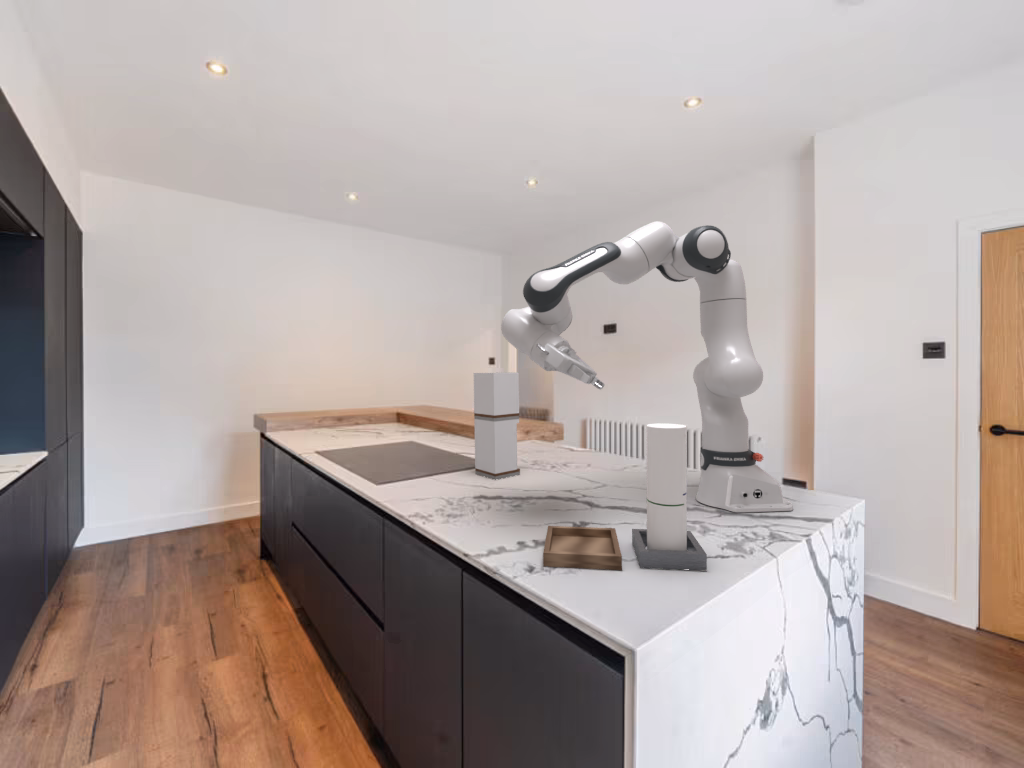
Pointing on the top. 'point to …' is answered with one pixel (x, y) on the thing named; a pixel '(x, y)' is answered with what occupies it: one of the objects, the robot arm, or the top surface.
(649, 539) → the cylindrical container
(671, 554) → the gray square tray
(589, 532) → the walnut tray
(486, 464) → the banded white pillar
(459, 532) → the top surface
